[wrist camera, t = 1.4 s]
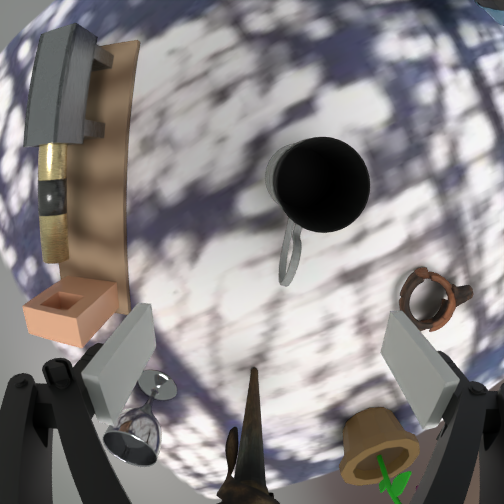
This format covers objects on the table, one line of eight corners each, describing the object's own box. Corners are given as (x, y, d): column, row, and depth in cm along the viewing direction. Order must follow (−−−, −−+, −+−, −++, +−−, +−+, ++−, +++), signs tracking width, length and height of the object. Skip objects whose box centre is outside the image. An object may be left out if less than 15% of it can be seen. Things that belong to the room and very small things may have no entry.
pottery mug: (404, 334, 43) (407, 345, 36) (389, 278, 45) (389, 278, 38) (471, 310, 39) (485, 316, 31) (456, 253, 41) (468, 249, 33)
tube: (64, 49, 26) (48, 41, 23) (87, 43, 26) (72, 34, 23) (53, 253, 33) (37, 261, 30) (75, 255, 33) (59, 264, 30)
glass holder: (343, 156, 36) (390, 152, 22) (308, 260, 40) (332, 312, 26) (277, 134, 36) (286, 113, 21) (244, 241, 40) (233, 285, 25)
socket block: (67, 275, 41) (22, 305, 30) (116, 282, 41) (76, 318, 30) (70, 299, 42) (29, 333, 31) (119, 307, 42) (82, 348, 31)
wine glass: (158, 361, 45) (126, 426, 31) (189, 394, 47) (168, 462, 33) (126, 377, 47) (92, 437, 32) (156, 407, 48) (131, 469, 34)
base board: (70, 55, 33) (67, 53, 32) (140, 42, 32) (137, 40, 32) (67, 301, 43) (64, 303, 42) (131, 312, 43) (128, 314, 42)
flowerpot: (398, 437, 50) (440, 551, 21) (331, 453, 51) (353, 578, 22) (407, 390, 46) (472, 521, 17) (331, 408, 47) (364, 562, 18)
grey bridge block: (83, 55, 32) (40, 34, 22) (115, 49, 32) (76, 22, 22) (72, 147, 36) (23, 146, 25) (103, 145, 36) (57, 142, 25)
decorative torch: (264, 346, 44) (263, 542, 15) (283, 377, 45) (296, 558, 16) (224, 361, 45) (190, 546, 16) (245, 391, 46) (230, 564, 17)
